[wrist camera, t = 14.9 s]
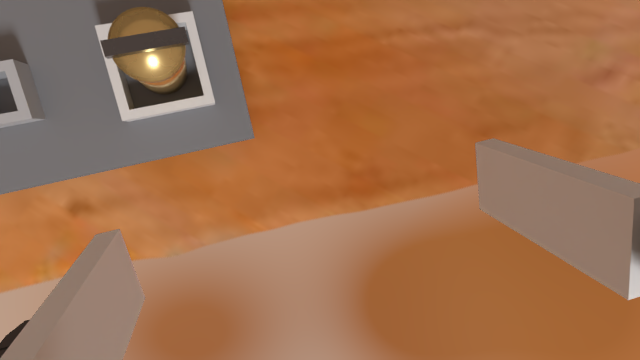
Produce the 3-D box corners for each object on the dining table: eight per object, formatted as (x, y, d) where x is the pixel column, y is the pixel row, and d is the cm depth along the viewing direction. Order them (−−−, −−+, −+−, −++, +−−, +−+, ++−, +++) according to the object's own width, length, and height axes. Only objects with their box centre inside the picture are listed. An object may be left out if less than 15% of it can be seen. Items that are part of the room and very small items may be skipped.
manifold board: (214, -22, 41) (215, -42, 36) (252, 137, 44) (257, 138, 39) (-65, 15, 36) (-108, -3, 31) (-3, 194, 38) (-33, 203, 34)
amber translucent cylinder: (183, 39, 39) (176, -4, 27) (197, 90, 40) (196, 71, 28) (125, 49, 38) (90, 9, 26) (141, 102, 39) (114, 86, 26)
